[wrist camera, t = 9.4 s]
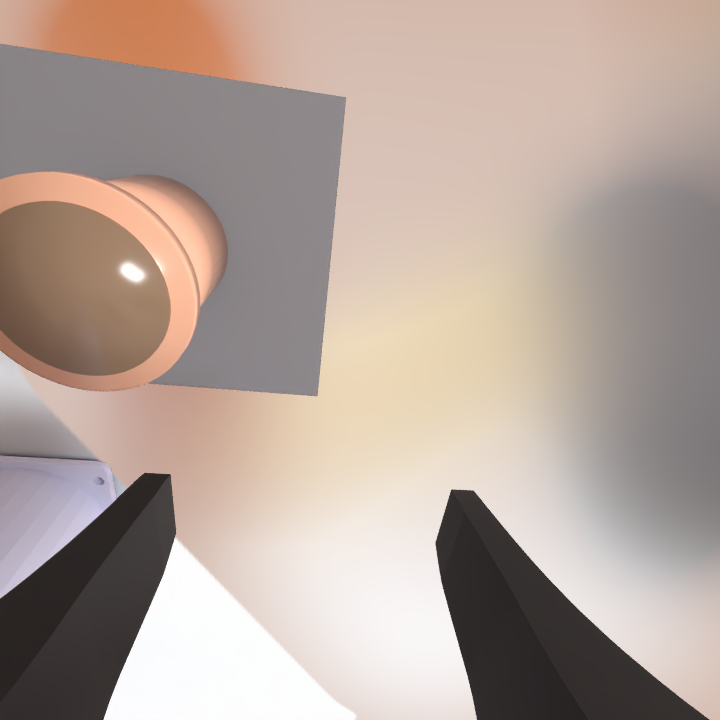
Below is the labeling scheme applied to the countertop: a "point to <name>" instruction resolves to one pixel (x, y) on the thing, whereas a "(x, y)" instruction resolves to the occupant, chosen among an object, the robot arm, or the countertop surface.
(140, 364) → the pot
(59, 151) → the slate mat
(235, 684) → the countertop surface
